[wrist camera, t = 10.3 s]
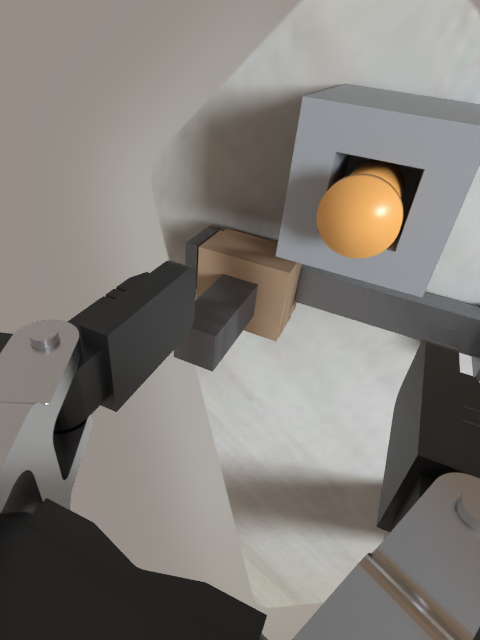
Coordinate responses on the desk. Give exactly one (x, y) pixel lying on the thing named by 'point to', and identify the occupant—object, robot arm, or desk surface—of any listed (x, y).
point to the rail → (381, 306)
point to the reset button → (363, 210)
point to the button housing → (390, 146)
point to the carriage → (238, 295)
